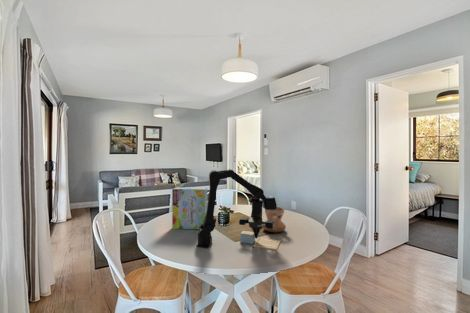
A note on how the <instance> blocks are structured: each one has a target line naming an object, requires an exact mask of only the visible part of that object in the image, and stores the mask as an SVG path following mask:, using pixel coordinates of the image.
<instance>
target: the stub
mask: <svg viewBox="0 0 470 313" xmlns="http://www.w3.org/2000/svg"><path fill="white" fill-rule="evenodd" d="M255 241H256V238H255V235H254V232H253V231H248V230H242V231H241V232H240V241H239V242H240V243H247V244H253V243H254V242H255Z"/></svg>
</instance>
